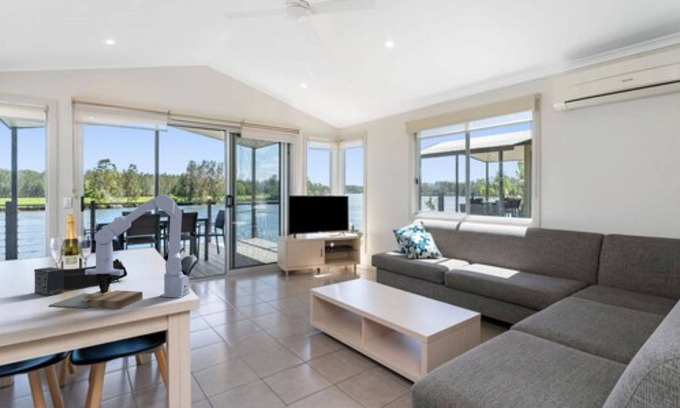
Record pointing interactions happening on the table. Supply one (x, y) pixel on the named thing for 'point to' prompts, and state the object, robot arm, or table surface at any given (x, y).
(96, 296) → the birch tile
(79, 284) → the magazine
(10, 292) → the table surface
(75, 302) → the charcoal mat
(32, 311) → the table surface
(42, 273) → the small box
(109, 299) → the block
